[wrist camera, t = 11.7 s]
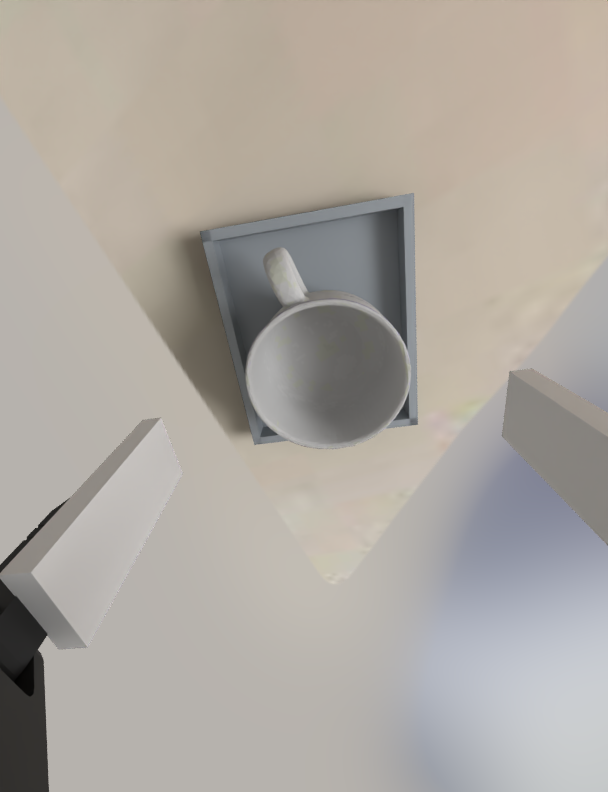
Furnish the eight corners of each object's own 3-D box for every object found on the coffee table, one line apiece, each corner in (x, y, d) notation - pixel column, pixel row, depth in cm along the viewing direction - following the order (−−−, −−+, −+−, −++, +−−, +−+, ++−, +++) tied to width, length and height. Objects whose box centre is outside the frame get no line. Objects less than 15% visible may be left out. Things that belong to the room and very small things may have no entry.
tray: (209, 232, 25) (199, 231, 23) (404, 198, 24) (413, 193, 22) (258, 431, 33) (254, 444, 30) (410, 411, 32) (417, 424, 29)
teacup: (393, 391, 30) (419, 438, 23) (278, 415, 31) (268, 465, 24) (370, 225, 25) (395, 215, 17) (232, 260, 26) (201, 266, 18)
